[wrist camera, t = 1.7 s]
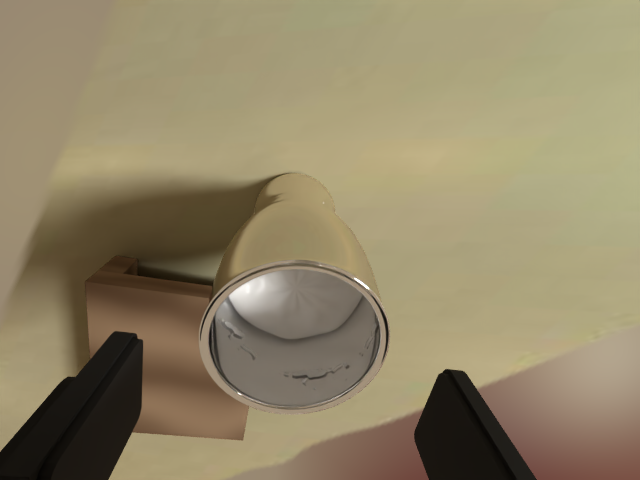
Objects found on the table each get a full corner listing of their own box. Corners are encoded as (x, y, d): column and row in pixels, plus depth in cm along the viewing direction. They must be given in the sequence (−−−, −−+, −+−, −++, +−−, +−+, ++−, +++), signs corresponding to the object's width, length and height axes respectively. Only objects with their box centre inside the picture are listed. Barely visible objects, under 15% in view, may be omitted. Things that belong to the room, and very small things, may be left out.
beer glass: (305, 268, 27) (316, 442, 13) (231, 222, 25) (153, 369, 11) (358, 202, 25) (438, 324, 11) (283, 146, 23) (267, 210, 9)
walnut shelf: (115, 255, 25) (85, 281, 22) (270, 278, 27) (266, 306, 23) (118, 389, 30) (94, 429, 27) (248, 401, 32) (242, 440, 28)
